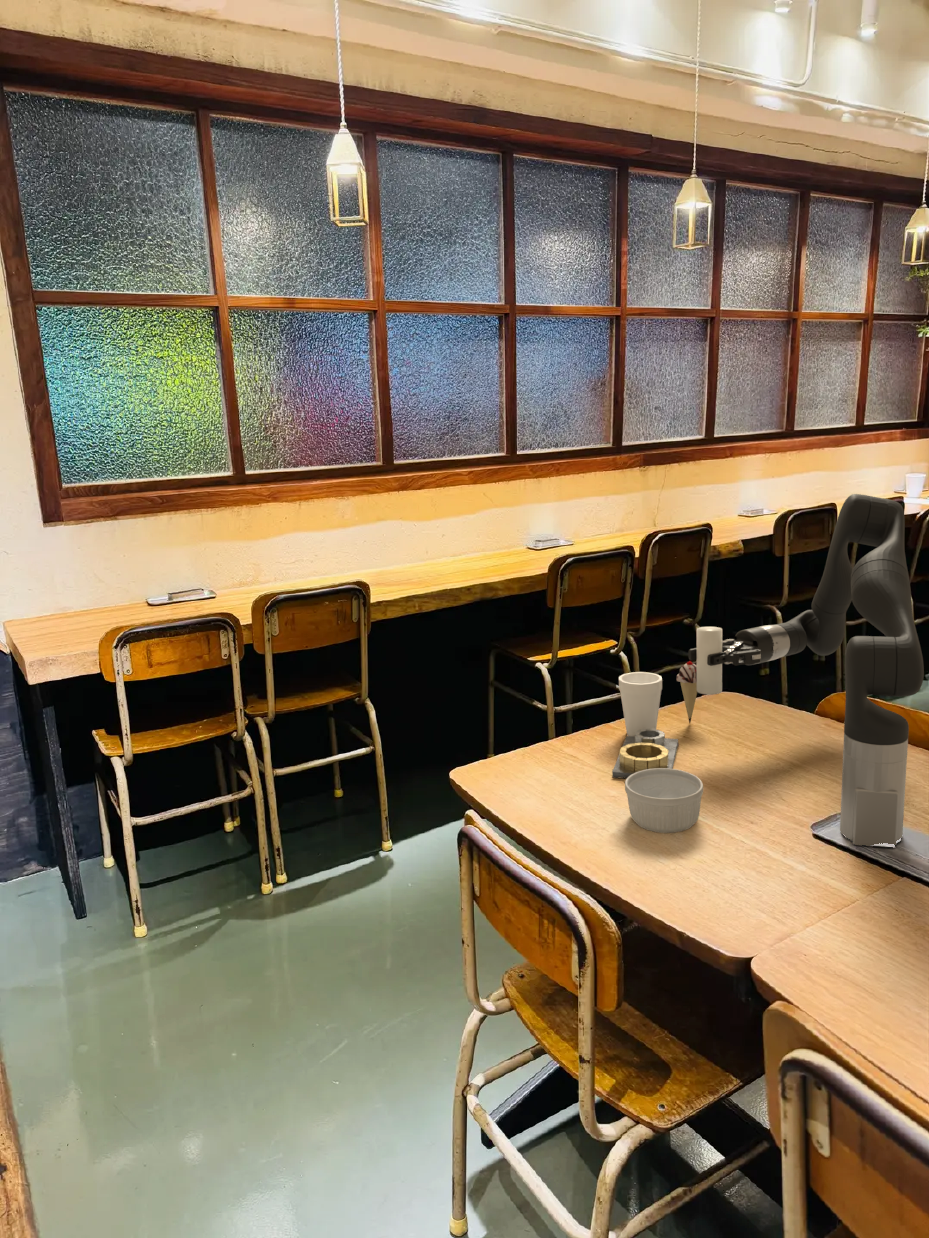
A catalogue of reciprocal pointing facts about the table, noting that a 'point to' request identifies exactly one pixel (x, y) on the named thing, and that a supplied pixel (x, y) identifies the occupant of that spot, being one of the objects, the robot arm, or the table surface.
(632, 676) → the foam cup
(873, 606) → the robot arm
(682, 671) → the ice cream cone
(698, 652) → the white rounded cylinder
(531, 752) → the table surface
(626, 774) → the grey ring holder base
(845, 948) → the table surface
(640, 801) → the ramekin
